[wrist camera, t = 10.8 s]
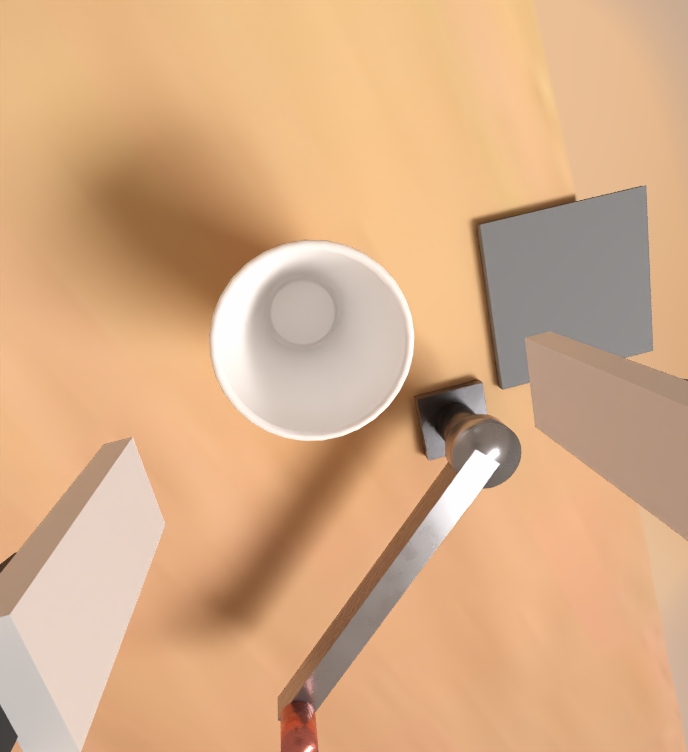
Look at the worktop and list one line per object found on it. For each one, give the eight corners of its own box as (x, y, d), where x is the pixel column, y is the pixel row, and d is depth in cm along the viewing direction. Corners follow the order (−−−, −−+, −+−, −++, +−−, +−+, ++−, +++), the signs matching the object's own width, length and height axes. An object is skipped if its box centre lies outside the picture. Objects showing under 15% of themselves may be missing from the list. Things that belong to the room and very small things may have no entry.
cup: (388, 358, 37) (434, 408, 26) (255, 398, 36) (247, 466, 26) (353, 219, 34) (388, 213, 23) (207, 260, 33) (177, 274, 23)
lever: (262, 694, 37) (260, 759, 32) (470, 402, 33) (502, 429, 28) (313, 714, 38) (318, 780, 34) (521, 434, 34) (560, 465, 29)
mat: (476, 224, 35) (480, 224, 34) (640, 186, 36) (646, 185, 35) (499, 387, 39) (502, 389, 38) (647, 348, 39) (653, 350, 39)
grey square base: (414, 396, 38) (433, 418, 33) (478, 379, 38) (506, 399, 34) (425, 456, 39) (445, 485, 35) (487, 439, 40) (515, 467, 35)
